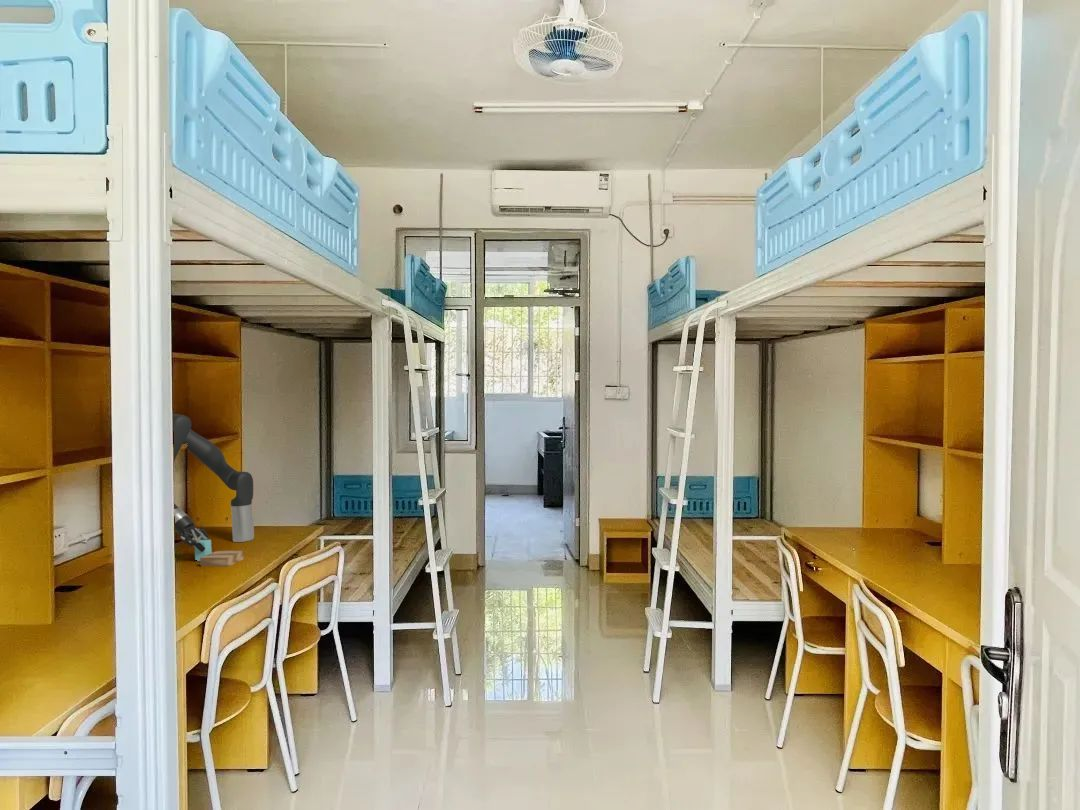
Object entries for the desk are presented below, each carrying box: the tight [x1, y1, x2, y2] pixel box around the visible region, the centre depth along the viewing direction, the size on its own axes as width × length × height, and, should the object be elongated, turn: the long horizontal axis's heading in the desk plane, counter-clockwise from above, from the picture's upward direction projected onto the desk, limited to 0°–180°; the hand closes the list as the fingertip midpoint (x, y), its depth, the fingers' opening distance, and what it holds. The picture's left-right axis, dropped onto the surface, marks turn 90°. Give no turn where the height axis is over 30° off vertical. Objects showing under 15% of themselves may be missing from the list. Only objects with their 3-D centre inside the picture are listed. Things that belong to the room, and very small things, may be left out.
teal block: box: [194, 539, 213, 562], centre depth 285 cm, size 5×5×8 cm
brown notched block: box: [199, 550, 245, 568], centre depth 280 cm, size 12×12×4 cm
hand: (207, 548), depth 284 cm, fingers closed on teal block, 4 cm apart
